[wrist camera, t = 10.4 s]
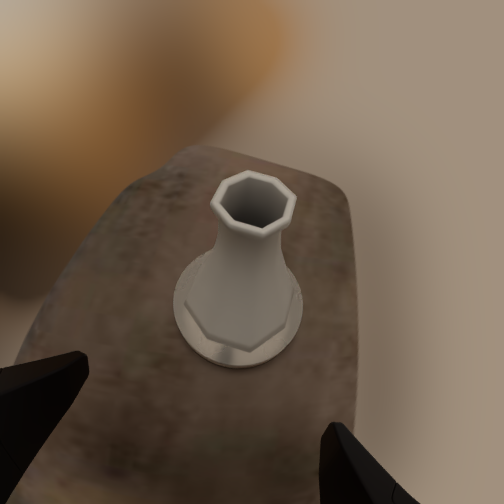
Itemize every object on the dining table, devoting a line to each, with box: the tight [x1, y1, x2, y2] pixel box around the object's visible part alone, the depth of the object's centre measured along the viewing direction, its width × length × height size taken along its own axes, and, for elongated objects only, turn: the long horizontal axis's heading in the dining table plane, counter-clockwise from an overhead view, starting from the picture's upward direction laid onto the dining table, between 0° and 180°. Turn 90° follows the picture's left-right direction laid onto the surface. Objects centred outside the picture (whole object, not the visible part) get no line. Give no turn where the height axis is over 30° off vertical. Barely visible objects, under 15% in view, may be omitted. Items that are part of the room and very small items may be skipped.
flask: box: [184, 170, 297, 353], centre depth 15 cm, size 7×7×10 cm
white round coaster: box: [173, 250, 303, 368], centre depth 20 cm, size 9×9×2 cm
